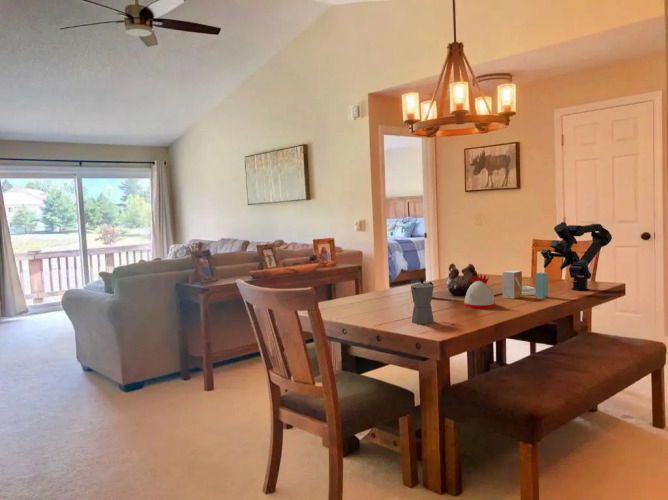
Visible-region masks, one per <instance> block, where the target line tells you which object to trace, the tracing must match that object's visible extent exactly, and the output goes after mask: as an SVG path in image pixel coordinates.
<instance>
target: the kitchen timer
mask: <svg viewBox="0 0 668 500" xmlns="http://www.w3.org/2000/svg"><path fill="white" fill-rule="evenodd" d="M473 278H474V280H473ZM473 278H471V277H470V280H471V283H472V284H470V286H469V287H468V289H467V290H466V293H465V297H464V304H463V305H464V307H465V308H468V309H477V310H478V309H479V310H480V309H481V310H485V309H493V308H495V307H496V298H495V296H494V293H493V289H492V288H491V287H490V286H489V284H488V283H487V282H488V280H489V278H490V277H487V276H486V274H484V275H483V274H482V273H480V275H479V273H477V274H476V275H474V276H473Z"/></svg>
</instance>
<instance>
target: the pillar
mask: <svg viewBox="0 0 668 500" xmlns="http://www.w3.org/2000/svg"><path fill="white" fill-rule="evenodd" d="M535 290H536V295H535V298H540V299H545V298H546V297H547V298H548V297H549V272H542V271H541V272H536V273H535Z"/></svg>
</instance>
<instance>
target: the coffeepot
mask: <svg viewBox="0 0 668 500" xmlns="http://www.w3.org/2000/svg"><path fill="white" fill-rule="evenodd" d="M424 279H425V278H423V277H422V278H419V282H418V283H414V284H412V285H410V291H411V296H412V302H413V304H414V305H413V311H412V317H411V322H412V323H413V324H415V325H430V324H433V323H434V321H435V320H434V315H433V310H432V309H433V308H432V306H431V305H432V303H431V302H432V301H433V300H432V299H433V292H434V288H435V286H434V283H433V282H432V281H429V282H424V281H425V280H424Z"/></svg>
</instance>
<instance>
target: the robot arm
mask: <svg viewBox="0 0 668 500" xmlns="http://www.w3.org/2000/svg"><path fill="white" fill-rule="evenodd" d="M553 229H554V230H553V231H554V232H555V234H556V235H557V237H558V238H559V239H560V240H553V239H551V241H550V244H549V247H550V248H552V250H553V251H551V250H550V249H544V248H543V249H542V250H541V252H540V255H541V256H542V257H543V260H544V261H543V269H546V268H548V267H549V265H550V264H551V263H553V261H552V260H554V258H560V259H561V258H562V259H564V260H563V261H562V263H561V265H560V267H559V269H560V271H561V270H564V269H566V268H567V267H569V268H568V272H569V275H570V278H573V280H572V283H573V284H572V288H570V289H571V290H575V291H579V292H581V291H590V290H591V288H589V287H588V280H589V279H591V278H592V273H591V272H590V269H589V265H590V263H591V262H592V261H593V260H594V258H595V257H596V256H597V254H598V253H599V252H600V250H601V248H604V247H605V246H607V245H609V243H611V241H612V239H613V237H612V234H611V233H610V231H609V230H608V229H606V228H605V227H604V226H603V225H602V224H600V223H591V224H586V225H582V224H581V225H578V224H576V225H575V224H572V225H571V224H570V225H567V223H566V222H565V221H562V222H560V223H559V224H556V225H555V226H554V228H553ZM587 233H590V236H591V237H592V240H591V241H592V243H591V244H590V245H589V246H588V248H587V250H586V251H585V252H584V253H583V254H582V256H581V258H580V256H579V255H578V253H577V251H576V250H575V251H573V250H572V248H573V246H574V245H577V244H578V240H577V238H576V237H581V236H584V234H587Z"/></svg>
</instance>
